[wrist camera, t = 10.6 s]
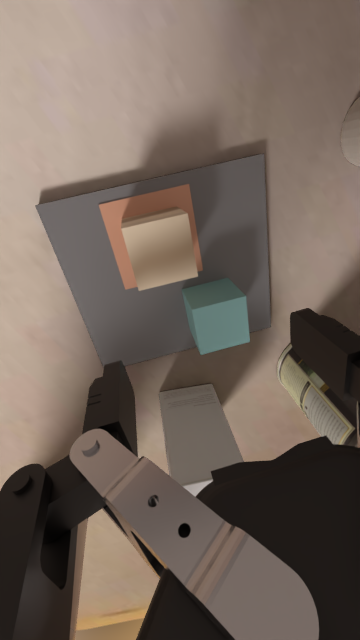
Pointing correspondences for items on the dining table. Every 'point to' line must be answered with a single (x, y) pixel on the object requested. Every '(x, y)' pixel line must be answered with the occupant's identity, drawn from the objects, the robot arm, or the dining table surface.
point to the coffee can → (318, 400)
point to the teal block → (217, 315)
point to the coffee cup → (352, 134)
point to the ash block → (160, 247)
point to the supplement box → (196, 436)
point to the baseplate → (167, 300)
